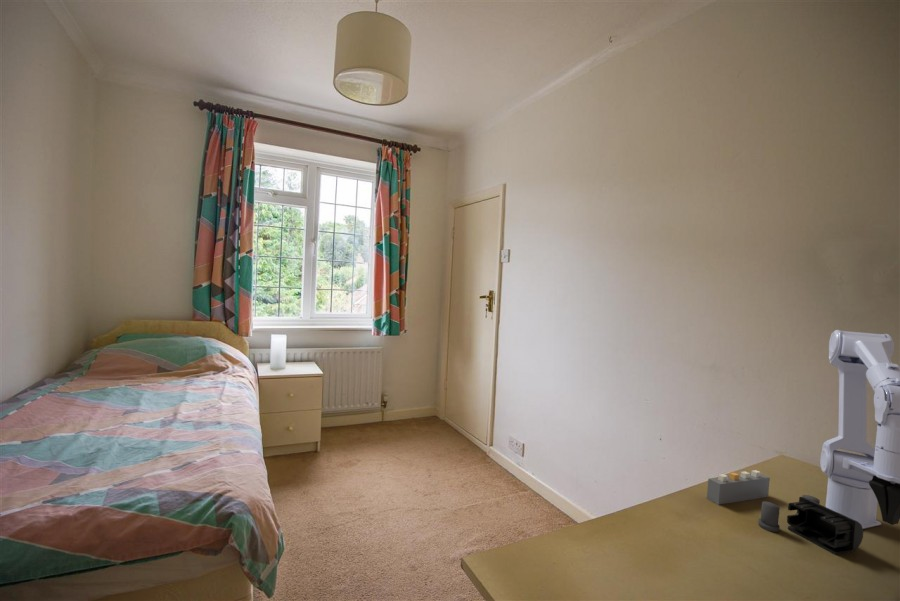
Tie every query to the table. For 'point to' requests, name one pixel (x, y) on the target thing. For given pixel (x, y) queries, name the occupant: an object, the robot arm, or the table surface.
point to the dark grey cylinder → (811, 498)
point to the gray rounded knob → (769, 517)
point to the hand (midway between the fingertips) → (890, 522)
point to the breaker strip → (737, 487)
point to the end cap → (824, 527)
